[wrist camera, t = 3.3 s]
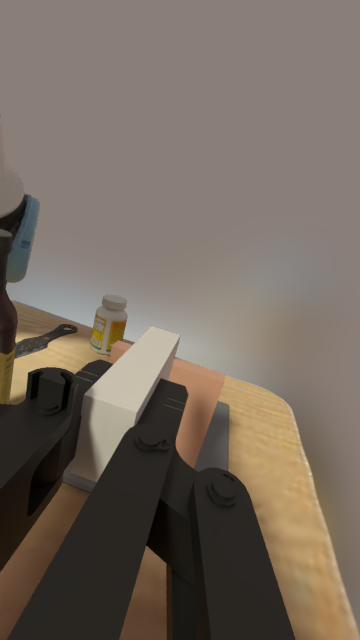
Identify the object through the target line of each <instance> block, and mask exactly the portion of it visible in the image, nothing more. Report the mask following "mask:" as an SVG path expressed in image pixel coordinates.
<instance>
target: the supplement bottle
mask: <svg viewBox="0 0 360 640" xmlns="http://www.w3.org/2000/svg"><path fill="white" fill-rule="evenodd" d="M126 303H127V301H126V299H124V298H122V297H119V296H116V295H105V296H103V300H102V305H103V306H101V307H99V308H98V309H97V311H96V315H95V321H94V326H93V332H92V337H91V343H90V346H91V348H92V350H94V351H95V352H97V353H100V354H105V355H110V352H111V347H112V345H113V344H114V343H115V342H117V341H118V340H119V341H122V340H123V335H124V330H125V326H126V321H127V313H126V312H125V311H124V309H125V308H126Z"/></svg>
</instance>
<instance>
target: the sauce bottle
mask: <svg viewBox="0 0 360 640" xmlns="http://www.w3.org/2000/svg"><path fill="white" fill-rule="evenodd" d="M12 240H13V236H12V234H11V233H10V232H8V231H5V230H3V229H0V404H9V397H10V389H11V381H12V373H13V365H14V356H15V348H16V343H15V337H16V329H17V322H18V320H17V312H16V309H15V307H14V306H13V304H12V302H11V301H10V299H9V297H8V295H7V292H6V289H5V288H6V284H7V280H6V273H7V262H8V255H9V253H10V252H11V250H12Z"/></svg>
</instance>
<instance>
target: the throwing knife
mask: <svg viewBox="0 0 360 640" xmlns="http://www.w3.org/2000/svg"><path fill="white" fill-rule="evenodd" d="M65 327H68V328H71V329H73V330H64V328H65ZM75 332H77V327H75V326H73V325H69V324H62V325H59V326H58V327H57V328H56V329H55V330H53V331H52V332H49V333H47V334H44V335H42V336H39V337H34V338H28V339H24V340H22V341H20V342H18V343H16V348H15V352H16V353H15V356H14V359H15V358H18V357H21V356H24V355H27V354H30V353H33V352H36V351H39V350H42V349H45V348H47V344H48V342H50V341H52V340H54V339H56V338H58V337H60V336H63V335H66V334H70V333H75ZM19 349H22V350H19Z"/></svg>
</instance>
